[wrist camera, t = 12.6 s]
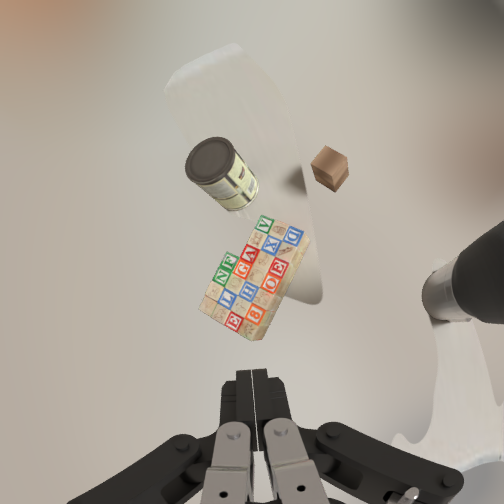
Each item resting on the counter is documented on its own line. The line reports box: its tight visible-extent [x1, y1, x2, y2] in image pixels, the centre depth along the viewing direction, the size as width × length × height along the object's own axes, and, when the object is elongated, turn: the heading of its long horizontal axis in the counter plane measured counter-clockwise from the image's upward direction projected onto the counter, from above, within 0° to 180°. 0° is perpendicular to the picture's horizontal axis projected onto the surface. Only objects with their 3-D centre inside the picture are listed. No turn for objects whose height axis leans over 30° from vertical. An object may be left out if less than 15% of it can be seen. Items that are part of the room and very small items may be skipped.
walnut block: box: [311, 146, 349, 192], centre depth 53 cm, size 5×5×7 cm
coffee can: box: [185, 137, 259, 211], centre depth 57 cm, size 10×10×14 cm
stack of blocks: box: [199, 215, 310, 341], centre depth 54 cm, size 21×6×12 cm
